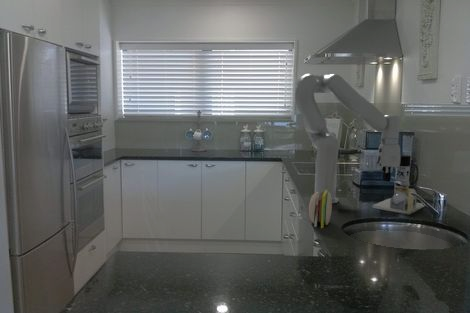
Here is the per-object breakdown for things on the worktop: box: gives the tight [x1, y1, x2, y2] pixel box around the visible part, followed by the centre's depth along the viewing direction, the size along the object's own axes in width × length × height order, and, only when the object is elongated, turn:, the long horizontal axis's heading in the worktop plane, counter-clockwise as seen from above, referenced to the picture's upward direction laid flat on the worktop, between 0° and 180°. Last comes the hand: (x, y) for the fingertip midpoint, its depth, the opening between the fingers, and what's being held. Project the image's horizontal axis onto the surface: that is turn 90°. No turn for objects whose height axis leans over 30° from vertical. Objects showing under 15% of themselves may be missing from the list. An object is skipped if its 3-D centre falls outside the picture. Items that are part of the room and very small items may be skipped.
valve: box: [372, 186, 425, 215], centre depth 192 cm, size 20×16×10 cm
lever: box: [390, 176, 410, 187], centre depth 196 cm, size 16×4×2 cm, turn 7°
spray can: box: [393, 154, 411, 194], centre depth 219 cm, size 7×7×20 cm
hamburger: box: [308, 190, 333, 229], centre depth 163 cm, size 12×8×12 cm
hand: (386, 180), depth 201 cm, fingers closed
